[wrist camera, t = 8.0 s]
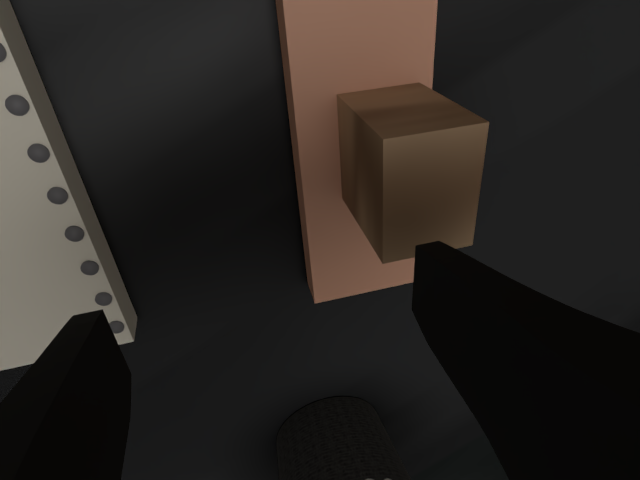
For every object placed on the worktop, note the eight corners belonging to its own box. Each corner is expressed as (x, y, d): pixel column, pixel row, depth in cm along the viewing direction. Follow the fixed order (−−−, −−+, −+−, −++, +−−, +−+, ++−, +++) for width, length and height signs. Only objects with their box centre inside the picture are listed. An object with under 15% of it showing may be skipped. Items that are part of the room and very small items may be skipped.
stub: (407, 262, 22) (469, 351, 17) (307, 283, 21) (342, 382, 16) (422, -93, 14) (543, -116, 9) (266, -81, 14) (310, -99, 9)
